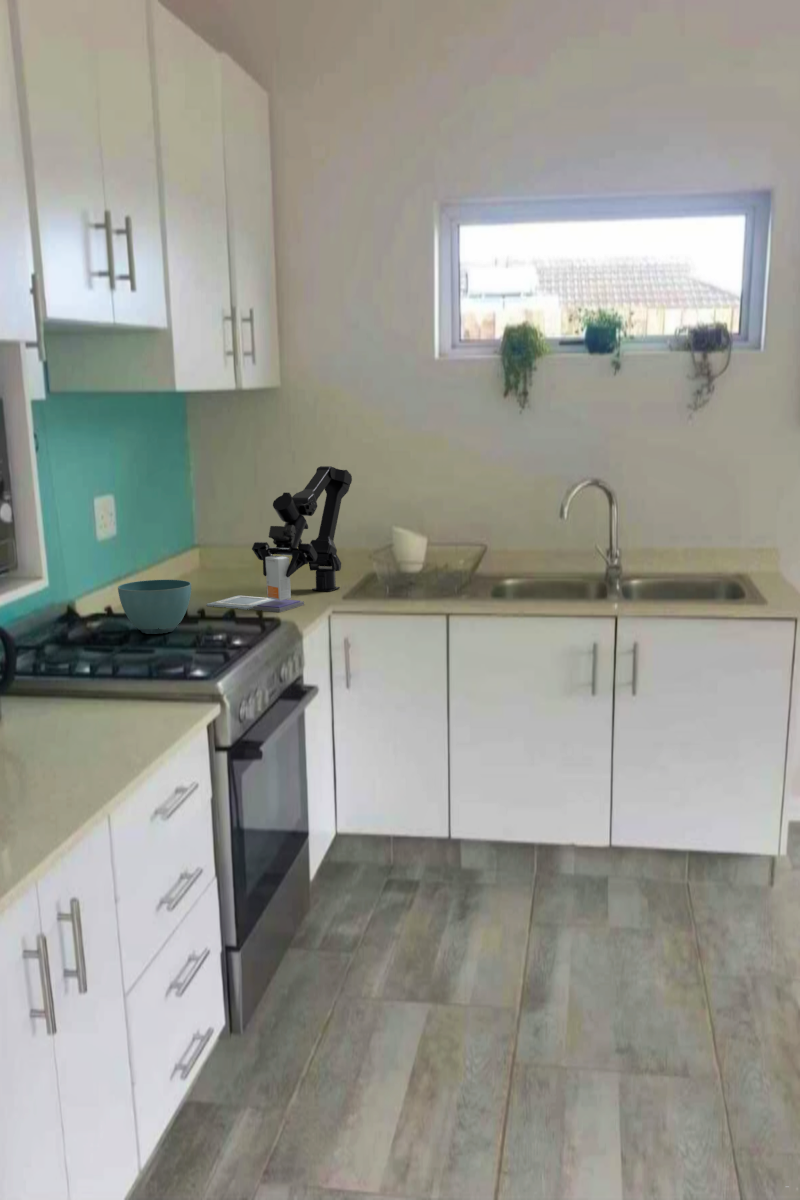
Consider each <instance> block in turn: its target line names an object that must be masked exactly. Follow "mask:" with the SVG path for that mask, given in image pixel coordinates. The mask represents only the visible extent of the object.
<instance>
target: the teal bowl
mask: <svg viewBox="0 0 800 1200" xmlns="http://www.w3.org/2000/svg"><path fill="white" fill-rule="evenodd" d="M191 593H192V582H191V581H187V580H183V579H181V580H180V579H147V580H138V581H131V582H127V583H123V584H120V585H118V586H117V594H118V596H119V602H120V604H121V607H122V609H123V612H124V613H125V615H126V617H127V619H128V621H130V623H131V624H132V625H133V627H134V628H135V627H137V628H141V629H158V628H159V629H166V628H171V627H174V626H177V625H178V624H179V623H181V622H182V620H183V619H184V616H186V613H187V610H188V608H189V605H190V599H191V596H192V595H191ZM179 625H180V624H179ZM179 625H178V626H179ZM178 626H177V627H178Z"/></svg>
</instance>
